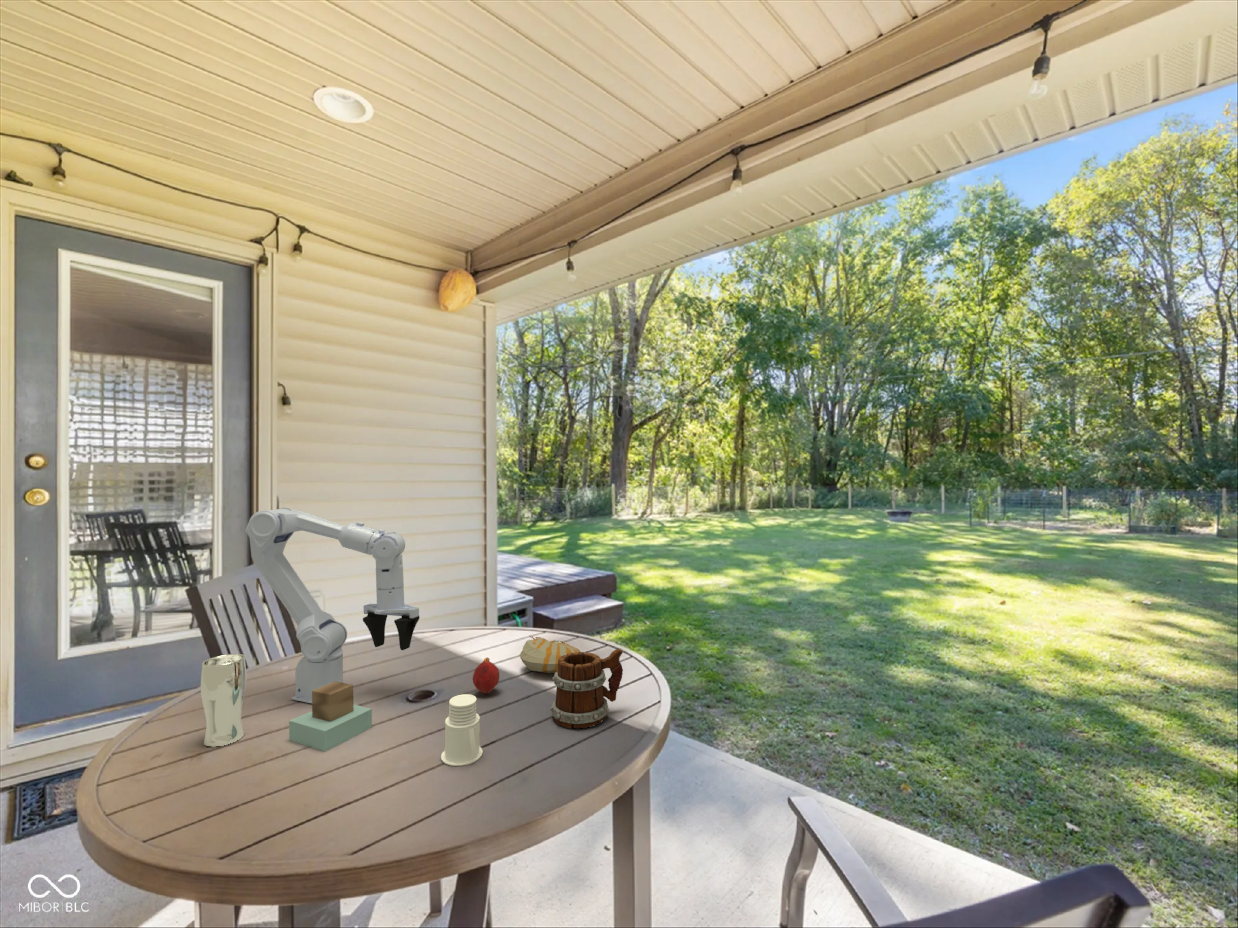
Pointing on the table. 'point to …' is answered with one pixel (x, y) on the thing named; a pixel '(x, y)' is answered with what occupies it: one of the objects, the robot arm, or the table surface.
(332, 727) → the riser block
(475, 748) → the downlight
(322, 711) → the walnut block
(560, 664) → the mug
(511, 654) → the table surface
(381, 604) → the robot arm
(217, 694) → the beer glass
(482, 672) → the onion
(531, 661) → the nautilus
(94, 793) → the table surface
